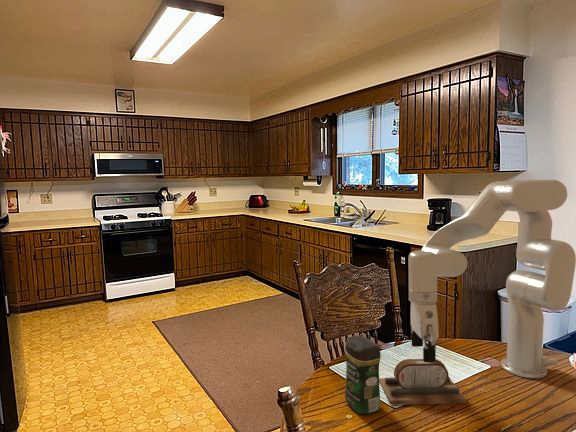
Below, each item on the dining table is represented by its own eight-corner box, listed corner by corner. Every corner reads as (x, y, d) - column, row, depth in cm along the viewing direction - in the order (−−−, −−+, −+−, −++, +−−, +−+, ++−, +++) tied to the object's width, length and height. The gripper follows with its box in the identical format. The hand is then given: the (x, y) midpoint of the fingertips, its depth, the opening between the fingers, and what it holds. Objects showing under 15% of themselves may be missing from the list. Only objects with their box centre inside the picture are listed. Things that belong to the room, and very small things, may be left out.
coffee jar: (340, 399, 111) (340, 335, 109) (364, 393, 114) (365, 330, 112) (359, 419, 102) (359, 349, 100) (385, 411, 105) (385, 343, 103)
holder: (448, 380, 120) (448, 372, 120) (466, 403, 108) (466, 393, 108) (379, 382, 120) (379, 373, 120) (389, 404, 108) (389, 395, 108)
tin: (445, 385, 116) (445, 357, 115) (449, 390, 112) (450, 362, 112) (393, 386, 115) (393, 358, 115) (396, 392, 112) (396, 363, 111)
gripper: (448, 304, 103) (448, 367, 105) (425, 285, 120) (425, 340, 122) (419, 305, 103) (420, 369, 105) (400, 287, 120) (400, 341, 122)
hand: (423, 353), depth 113 cm, fingers open, 9 cm apart
